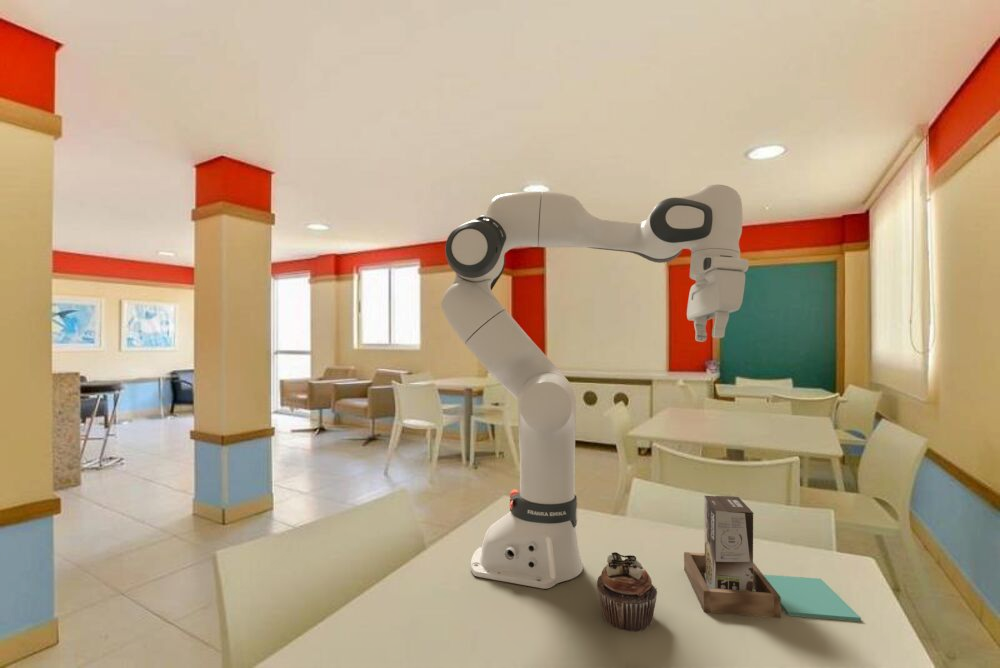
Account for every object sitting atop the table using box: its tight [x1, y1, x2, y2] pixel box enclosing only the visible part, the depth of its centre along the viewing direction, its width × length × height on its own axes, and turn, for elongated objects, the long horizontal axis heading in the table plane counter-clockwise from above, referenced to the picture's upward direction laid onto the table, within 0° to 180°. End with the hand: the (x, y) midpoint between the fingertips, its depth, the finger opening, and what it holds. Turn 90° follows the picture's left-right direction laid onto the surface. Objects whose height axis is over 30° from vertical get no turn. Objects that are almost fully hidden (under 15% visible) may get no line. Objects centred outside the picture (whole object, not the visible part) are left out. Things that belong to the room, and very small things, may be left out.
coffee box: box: [703, 495, 754, 592], centre depth 88 cm, size 9×6×16 cm
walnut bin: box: [683, 551, 782, 619], centre depth 88 cm, size 12×15×4 cm
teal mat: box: [763, 574, 862, 622], centre depth 86 cm, size 11×13×1 cm
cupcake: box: [596, 551, 658, 632], centre depth 80 cm, size 10×10×10 cm
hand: (708, 339), depth 94 cm, fingers open, 8 cm apart
